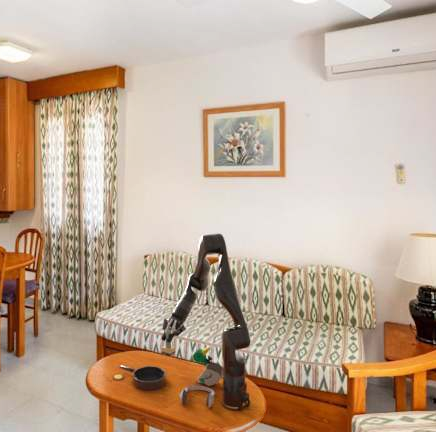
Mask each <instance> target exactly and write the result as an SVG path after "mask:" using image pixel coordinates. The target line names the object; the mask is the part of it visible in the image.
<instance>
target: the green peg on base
mask: <svg viewBox="0 0 436 432" xmlns="http://www.w3.org/2000/svg"><path fill="white" fill-rule="evenodd" d="M171 331H172V330H171ZM171 331H170V330H167V331H166V340H167V338H168V336H169V334H171ZM166 340H165V345H163V346H162V347H161V355H165V356H168V357H172V356H173V355H175V353H176V347H175V346H172V341H171V342H170V343H168V342H167V341H166Z"/></svg>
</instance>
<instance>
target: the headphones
mask: <svg viewBox="0 0 436 432" xmlns="http://www.w3.org/2000/svg"><path fill="white" fill-rule="evenodd" d="M194 390H200V391H205V392H208V394H207V395H206V399H205V405H206V407H207V408H208V409H209V408H211V407H212V405H214V402H215V400H214V398H215V393H216V391H215V390H213V389H212V388H210V387H209V386H204V385H190V386H187V387H185V388H184V389H182V391H181V392H180V394H179V401H180V403H181V405H184V404H186V402H187V399H188V391H194ZM169 401H170V402H171V401H172V398H171V399H170V400H169Z"/></svg>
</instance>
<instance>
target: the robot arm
mask: <svg viewBox="0 0 436 432" xmlns="http://www.w3.org/2000/svg"><path fill="white" fill-rule="evenodd" d="M197 251H198V252H197V261H196V265H195V268H194V271H193V273H191V274H190V275H189V276H188V278H187V283H186V286H185V289H184V291H183V294H182V296H181V298H180V299H179V300H178V302H177V303H176V305H175V307H174V309H173V311H172V312H171V316H169V318H164V319H163V323H162V330H163V331H164V332H163V333H162V335H161V340H162V341H163V342H166V341H167V342H168V343H170V342H171V343H172V340H173V339H174V337H179V336H180V335H181V334H182V333H184V331H185V330H186V329H187V327H186V326H185V324H184V323H185V322H186V320H187V319H188V317H189V315H190V313H191V311H192V310H193V307H194V304H195V303H196V301H197V299H198V294H197V293H196V292H195V291H194V289H195V290H196V291H198V292H200V293H202V292H205V291H206V290H207V288H208V286H209V278H208V277H209V273H210V271H211V263H210V261H209V259H208V258H207V256H209V255H210V256H212V255H217V257H218V266H217V270H216V273H215V275H214V279H213V283H212V284H213V288H214V289H213V290H214V293H215V296H216V301H218V303H219V304H220V305H221V306H222V308H224V310H225V311H226V312H227V313H228V315H229V316H230V318H231V320H232V323H233V325H234V326H232V327H227V328H224V329H223V330H222V332H221V356H222V360H223V363H222V364H223V366H222V367H223V376H222V377H223V379H222V385H223V388H222V399H221V400H222V402H221V404H222V406H224V407H225V408H226V409H228V410H231V411H232V410H234V411H242V409H243V408H244V407H245V406H246V408H249V407H250V405H251V399H250V393H249V392H247V391H248V390H247V388H248V383H247V382H246V366H247V365H246V364H247V363H246V361H247V360H246V358H245V356H242V355H241V354H239V353H236V351H239V350H245V349H248V348H249V347H250V345H251V335H250V331H249V328H248V325H247V322H246V319H245V317H244V313H243V310H242V308H241V304H240V303H241V302H240V299H239V296H238V292H237V287H236V284H235V279H234V277H233V274H232V268H231V265H230V260H229V255H228V250H227V243H226V240H225V237H224V236H223V234H222V233H211V234H205V235H202V236H201V237H200V239H199V243H198V250H197ZM192 289H193V290H192ZM167 330H170V331H171V334H169V336H168V338H167V340H166V331H167Z"/></svg>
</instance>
